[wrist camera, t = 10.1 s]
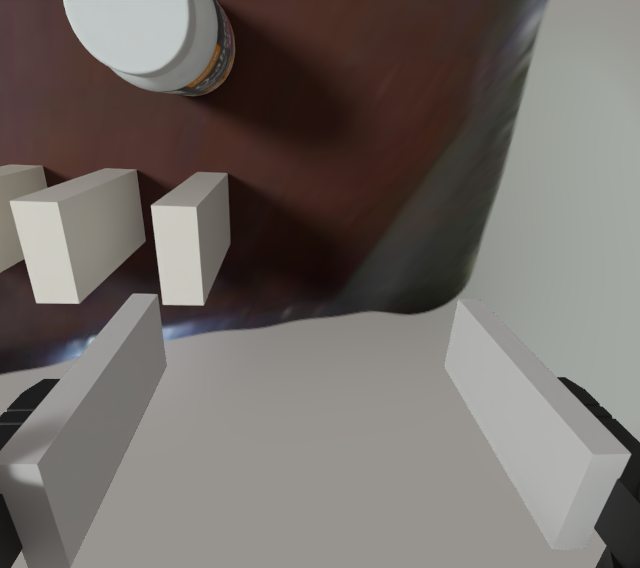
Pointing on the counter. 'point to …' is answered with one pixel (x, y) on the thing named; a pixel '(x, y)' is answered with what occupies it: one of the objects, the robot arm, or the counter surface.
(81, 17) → the pill bottle
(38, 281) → the domino
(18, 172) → the domino
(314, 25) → the counter surface
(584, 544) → the robot arm
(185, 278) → the domino
